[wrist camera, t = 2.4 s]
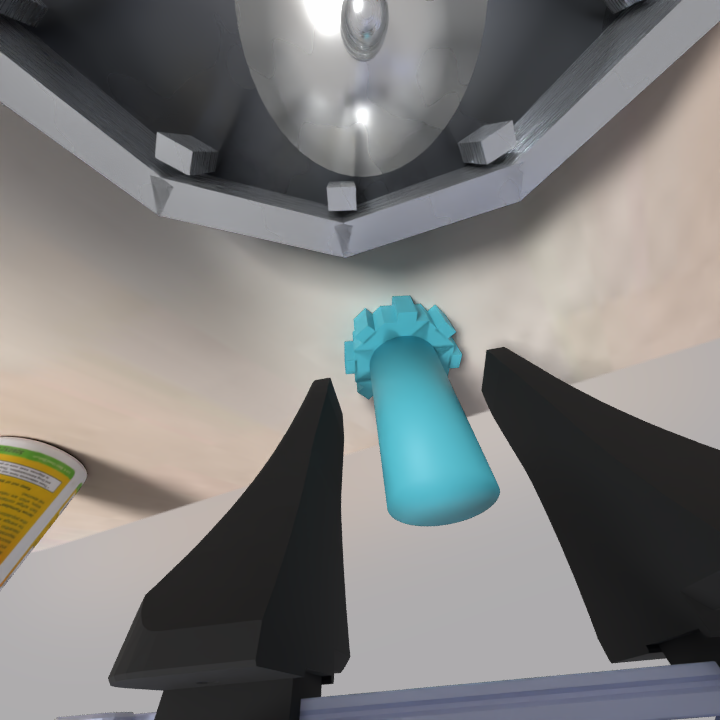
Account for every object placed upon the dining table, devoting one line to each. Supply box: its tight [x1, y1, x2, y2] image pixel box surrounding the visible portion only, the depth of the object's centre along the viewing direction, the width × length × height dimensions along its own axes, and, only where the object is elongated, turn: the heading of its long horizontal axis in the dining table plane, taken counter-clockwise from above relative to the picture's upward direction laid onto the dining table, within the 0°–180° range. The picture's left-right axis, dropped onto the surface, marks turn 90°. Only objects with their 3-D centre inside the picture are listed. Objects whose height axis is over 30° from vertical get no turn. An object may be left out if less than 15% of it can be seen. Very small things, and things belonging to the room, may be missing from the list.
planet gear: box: [345, 296, 500, 526], centre depth 10 cm, size 5×5×7 cm
